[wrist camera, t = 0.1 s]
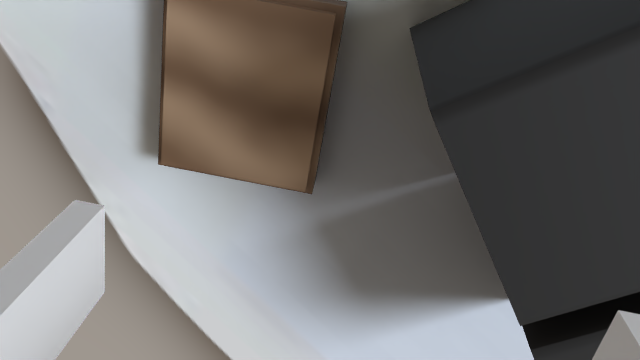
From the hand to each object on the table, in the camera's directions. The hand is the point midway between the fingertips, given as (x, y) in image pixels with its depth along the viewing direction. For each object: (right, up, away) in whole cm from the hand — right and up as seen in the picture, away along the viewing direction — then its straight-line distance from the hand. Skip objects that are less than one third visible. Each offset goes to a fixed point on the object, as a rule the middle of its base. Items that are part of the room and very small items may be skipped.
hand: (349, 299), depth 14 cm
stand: (-6, +10, +27) cm, 29 cm away
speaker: (+16, +5, +27) cm, 32 cm away
